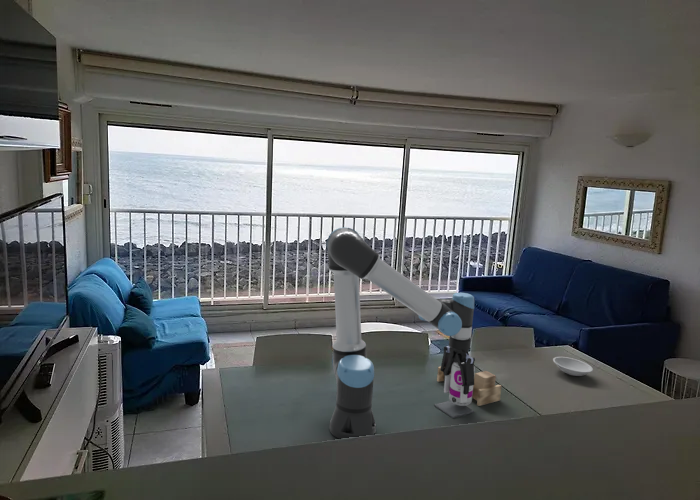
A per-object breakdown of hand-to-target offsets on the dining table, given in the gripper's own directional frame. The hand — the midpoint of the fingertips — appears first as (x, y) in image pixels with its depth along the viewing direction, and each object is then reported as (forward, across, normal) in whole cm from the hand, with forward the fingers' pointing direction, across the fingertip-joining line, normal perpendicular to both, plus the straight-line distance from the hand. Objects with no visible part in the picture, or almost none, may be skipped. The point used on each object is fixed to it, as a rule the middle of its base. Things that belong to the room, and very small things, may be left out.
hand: (455, 396), depth 177 cm
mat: (+5, 0, 0) cm, 5 cm away
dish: (+5, +3, -71) cm, 71 cm away
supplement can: (+3, 0, -3) cm, 4 cm away
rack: (+5, +10, -16) cm, 19 cm away
